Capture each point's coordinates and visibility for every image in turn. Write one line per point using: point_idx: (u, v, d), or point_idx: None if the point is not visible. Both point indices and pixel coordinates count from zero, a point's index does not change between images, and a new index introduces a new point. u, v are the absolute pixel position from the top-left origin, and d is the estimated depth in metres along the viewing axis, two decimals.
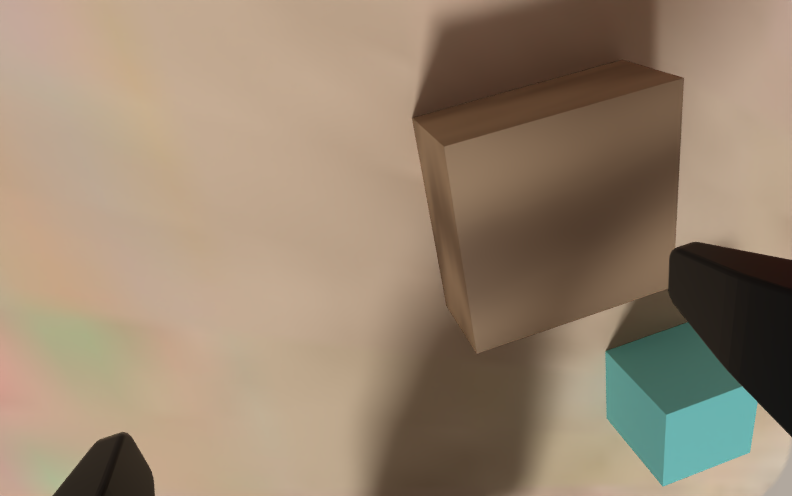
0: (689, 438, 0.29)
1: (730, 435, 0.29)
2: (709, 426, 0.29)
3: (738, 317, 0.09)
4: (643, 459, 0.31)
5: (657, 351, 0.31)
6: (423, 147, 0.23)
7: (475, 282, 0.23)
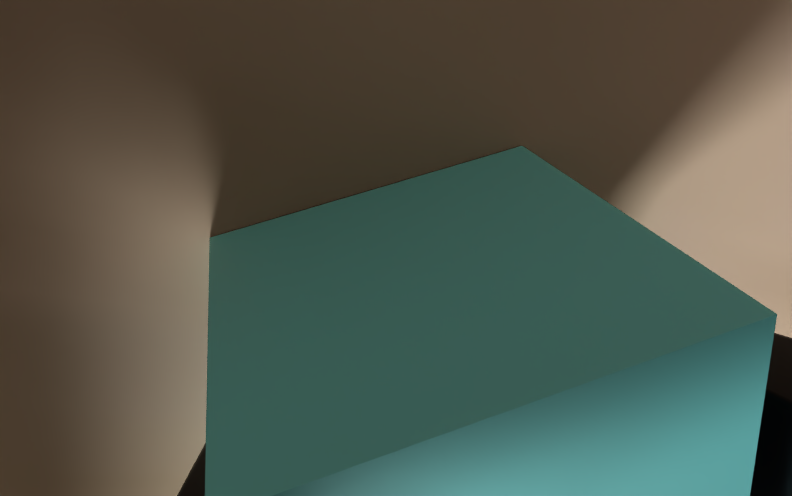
0: None
1: None
2: None
3: None
4: None
5: (373, 230, 0.08)
6: None
7: None
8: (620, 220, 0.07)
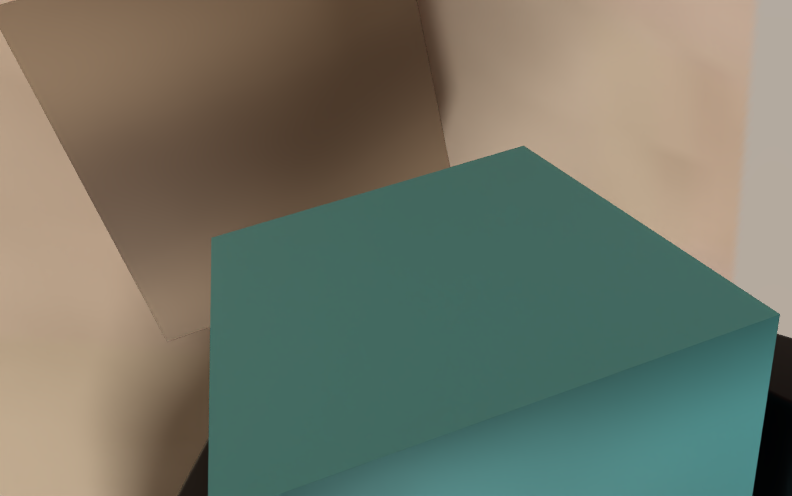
0: None
1: None
2: None
3: None
4: None
5: (374, 230, 0.08)
6: None
7: (127, 233, 0.15)
8: (622, 220, 0.07)
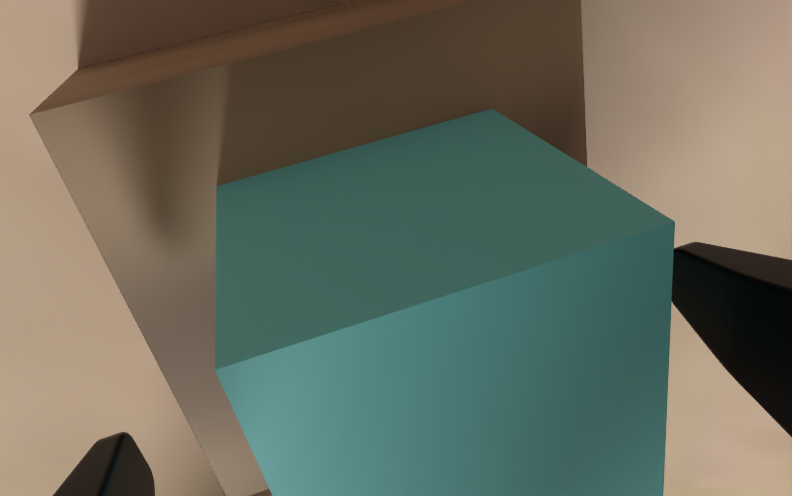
0: (391, 474, 0.07)
1: (574, 458, 0.08)
2: (471, 427, 0.07)
3: (738, 317, 0.09)
4: None
5: (357, 175, 0.09)
6: None
7: (191, 385, 0.12)
8: (565, 161, 0.08)
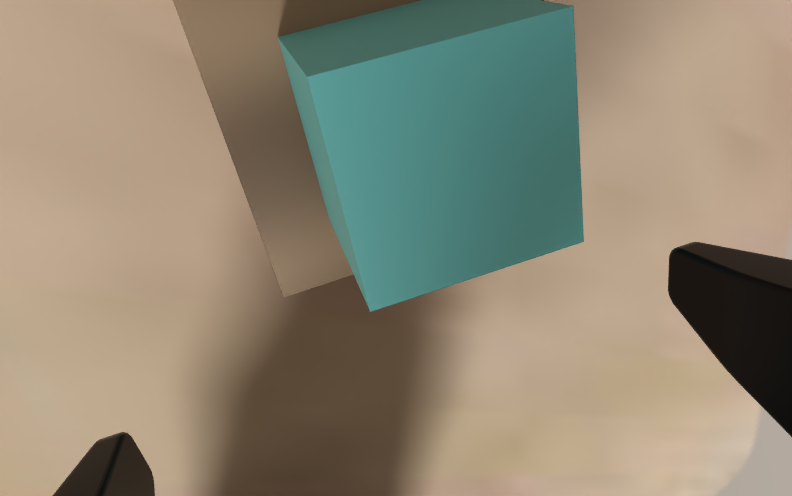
0: (405, 173, 0.11)
1: (521, 180, 0.12)
2: (454, 144, 0.11)
3: (738, 317, 0.09)
4: (352, 267, 0.14)
5: (377, 20, 0.14)
6: None
7: (260, 192, 0.16)
8: None
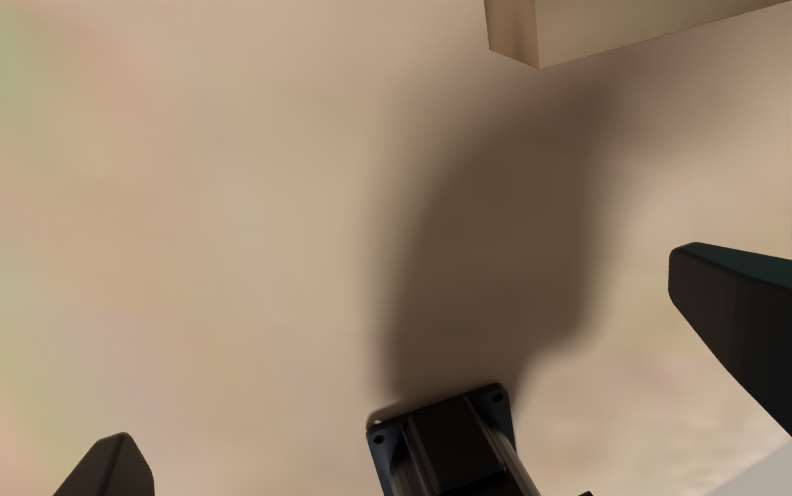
0: None
1: None
2: None
3: (738, 317, 0.09)
4: None
5: None
6: None
7: None
8: None
